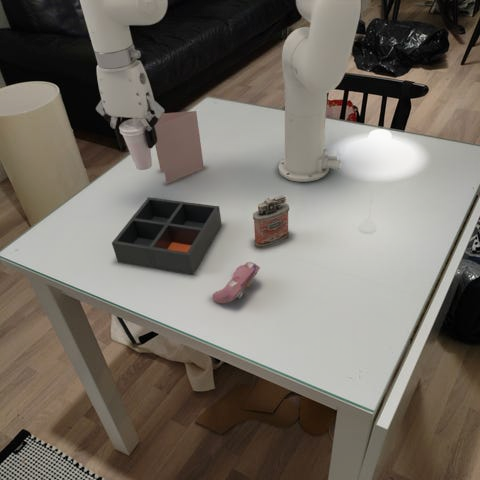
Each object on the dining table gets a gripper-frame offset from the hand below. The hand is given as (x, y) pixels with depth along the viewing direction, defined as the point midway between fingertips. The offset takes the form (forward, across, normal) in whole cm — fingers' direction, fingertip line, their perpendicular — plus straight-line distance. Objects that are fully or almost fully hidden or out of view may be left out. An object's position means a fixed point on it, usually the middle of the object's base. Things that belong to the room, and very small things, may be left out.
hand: (138, 143), depth 106 cm
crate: (+15, -11, +14) cm, 24 cm away
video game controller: (+15, -30, +26) cm, 42 cm away
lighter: (+15, -32, +8) cm, 37 cm away
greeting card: (+15, -2, -12) cm, 20 cm away
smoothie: (+6, 0, 0) cm, 6 cm away
